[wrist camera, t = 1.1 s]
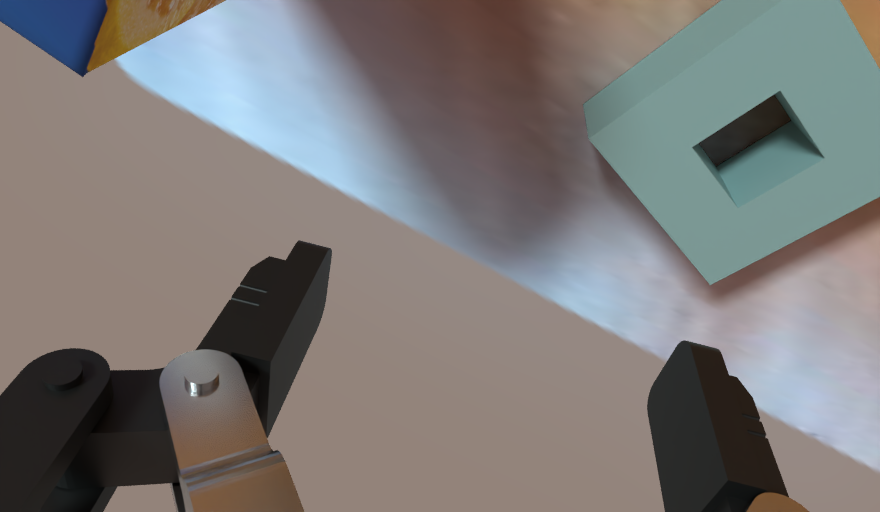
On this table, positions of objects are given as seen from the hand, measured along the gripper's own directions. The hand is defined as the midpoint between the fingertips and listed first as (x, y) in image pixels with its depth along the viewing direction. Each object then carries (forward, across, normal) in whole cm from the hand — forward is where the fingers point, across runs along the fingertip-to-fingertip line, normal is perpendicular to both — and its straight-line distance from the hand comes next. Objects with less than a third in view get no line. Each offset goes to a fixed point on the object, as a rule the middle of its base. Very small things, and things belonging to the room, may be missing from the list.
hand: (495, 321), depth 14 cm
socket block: (+25, -13, +2) cm, 28 cm away
